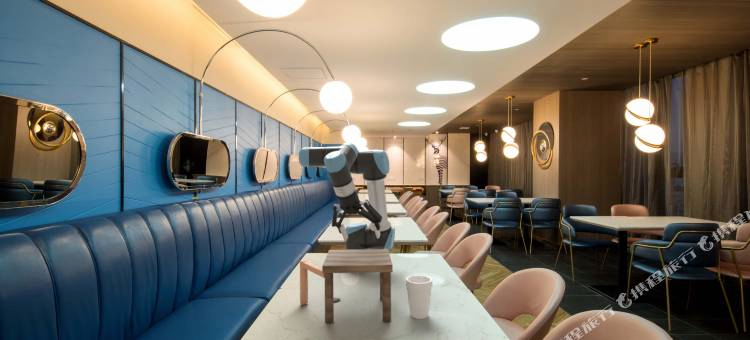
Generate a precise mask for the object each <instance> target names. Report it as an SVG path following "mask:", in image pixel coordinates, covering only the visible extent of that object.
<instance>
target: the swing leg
mask: <svg viewBox="0 0 750 340" xmlns="http://www.w3.org/2000/svg"><path fill="white" fill-rule="evenodd" d="M308 272H311V273H313V274H315V275H317V276H319V277H321V278H323V279H325V273H322V266H318V265H316V264H314V263H311V262H310V261H308V260H307V259H306V260H305V259H302V260H299V303H300V305H307V304H309V291H308V290H309V286H308V285H309V279H308V277H309V276H308V275H309V273H308Z"/></svg>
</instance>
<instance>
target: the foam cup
mask: <svg viewBox="0 0 750 340" xmlns="http://www.w3.org/2000/svg"><path fill="white" fill-rule="evenodd" d="M405 286H406V291H407V293H406V294H407V301H408V307H409V314H410V317H411V318H414V319H418V320H424V319H426V318H428V317H429V312H430V303H431V295H432V288H433V279H432V278H431V277H429V276H426V275H422V274H421V275H410V276H406V278H405Z"/></svg>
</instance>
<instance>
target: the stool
mask: <svg viewBox="0 0 750 340" xmlns="http://www.w3.org/2000/svg"><path fill="white" fill-rule="evenodd" d="M321 268H322V273H325V278H324V323H325V324H328V325H330V324H333V323H334V322H335V321H334V318H335V315H334V314H335V312H334V310H335V309H334V308H335V307H334V303H339V302H340V301H341V298H339V297H334V274H357V273H358V274H359V273H360V274H361V273H362V274H365V273H371V274H372V273H379V300H380V301H381V303H382V304H381V305H382V310H381V311H382V313H381V314H382V316H381V318H382V320H381V321H382V322H383V323H391V322H392V288H391V287H392V283H391V282H392V274H391V273H393V269H394V268H393V262H392V259H391V255H390V250H389V249H353V250H346V249H328V252H327V254H326V256H325V259H324V261H323V263H322V266H321Z"/></svg>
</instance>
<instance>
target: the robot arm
mask: <svg viewBox="0 0 750 340" xmlns="http://www.w3.org/2000/svg"><path fill="white" fill-rule="evenodd" d="M298 162H299V164H300V166H301V167H303V168H304V167H306V168H313V167H315V168H324V169H325V170H326V172H327V174H328V176H329V179H330V183H331V185H332V188H333V190H334V194H335V195H336V199H337V202H338V203H337V202H335V203H334V204H333V206H332V209H333V210H332V211H333V213H332V221H331V227H332V228H337V230H338V233H339V234H341V235H342V237H343V240H344V242H345V244H344V245H345V249H344V250H353V249H388V250H391V249H392V248H393V246H394V243H395V239H396V238H395V237H396V228H395V227H394V226H392V223H391V221H389V220H388V219H389V218H388V208H387V199H386V198H387V197H386V189H385V188H386V187H385V179H386V178H387V177H388V176H387V175H388V174H389V173H390V168H391V167H390V160H389V156H388V154H387V152H386V151H385V150H383V149H380V150H379V149H358V148H357V146H356V145H355V144H354V143H352V142H344V143H342V144H341V145H340V146H325V147H324V146H322V147H321V146H320V147H318V146H316V147H315V146H311V147H310V146H308V147H303V148H301V149H300V150H299V152H298ZM352 174H353V175H362V178H363V180H364V181H366V187H367V197H368V199H365V200H363V201H361V200H360V197H359V194H358V191H357V189H356V186H355V182H354V180H353V177H352ZM340 209H341V210H342V211H343V212H342V215H341V216H340V218H339V220H338V216H339V210H340ZM357 214H358V215H360V216H362V217H364V219H366V220H368V221H369V224H367V223H366V222H360V223H353V224H349V225H347V226H346V227H345V224H344V223H343V221H344V219H345V217H346V216H347V215H357Z"/></svg>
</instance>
